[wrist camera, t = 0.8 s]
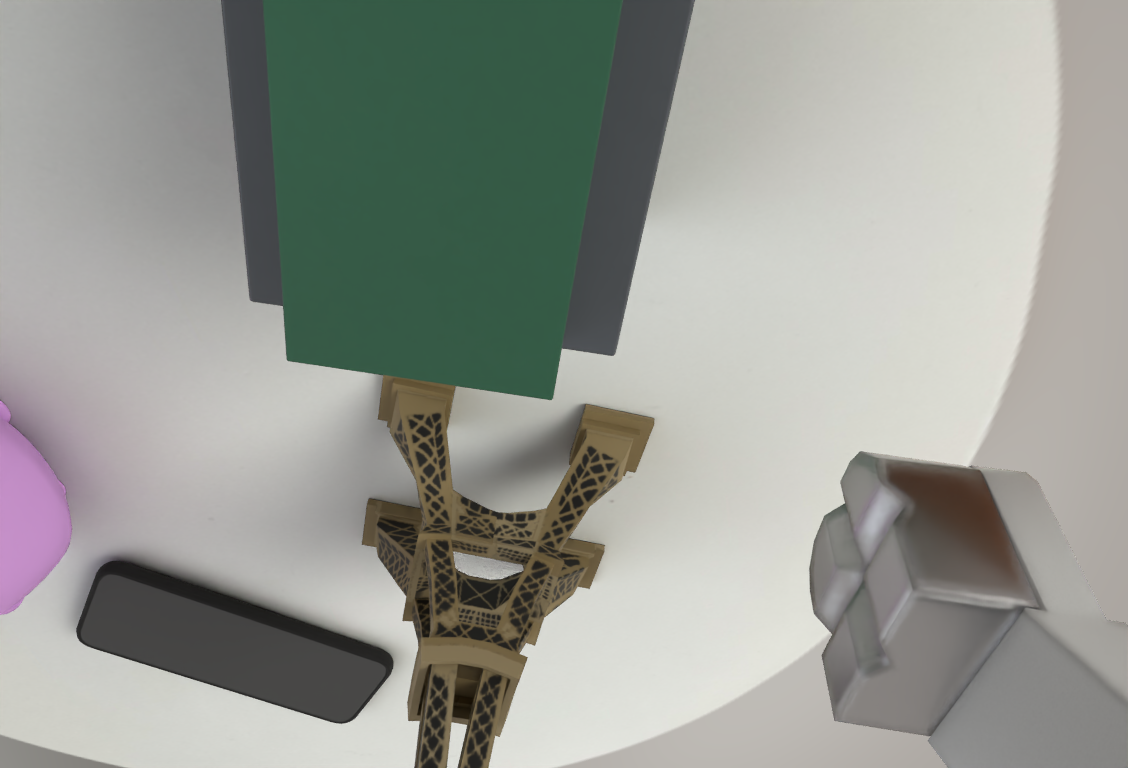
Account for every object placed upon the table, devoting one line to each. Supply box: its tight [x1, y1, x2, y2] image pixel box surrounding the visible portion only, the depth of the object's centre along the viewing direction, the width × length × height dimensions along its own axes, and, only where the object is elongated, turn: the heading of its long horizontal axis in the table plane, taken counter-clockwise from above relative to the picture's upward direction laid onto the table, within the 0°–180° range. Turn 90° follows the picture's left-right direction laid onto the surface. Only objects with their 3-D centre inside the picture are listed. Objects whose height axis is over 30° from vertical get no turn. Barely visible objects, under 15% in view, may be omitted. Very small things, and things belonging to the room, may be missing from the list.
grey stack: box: [221, 0, 695, 356], centre depth 23 cm, size 14×10×8 cm
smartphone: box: [76, 561, 393, 724], centre depth 46 cm, size 7×1×15 cm
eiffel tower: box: [362, 375, 654, 768], centre depth 29 cm, size 11×11×25 cm
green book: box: [262, 0, 623, 400], centre depth 19 cm, size 13×6×2 cm, turn 172°
